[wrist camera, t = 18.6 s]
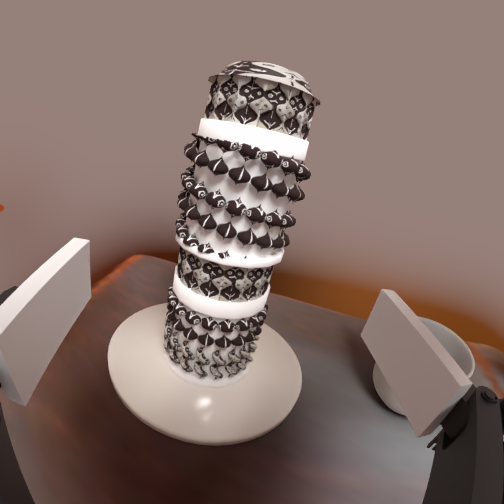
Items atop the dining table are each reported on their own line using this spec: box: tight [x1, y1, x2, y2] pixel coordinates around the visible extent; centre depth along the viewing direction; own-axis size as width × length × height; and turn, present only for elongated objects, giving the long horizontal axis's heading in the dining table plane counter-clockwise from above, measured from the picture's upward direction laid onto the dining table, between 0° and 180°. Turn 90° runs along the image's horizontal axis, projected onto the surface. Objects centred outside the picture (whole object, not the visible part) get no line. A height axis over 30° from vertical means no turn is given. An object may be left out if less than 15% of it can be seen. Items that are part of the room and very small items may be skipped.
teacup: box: [373, 317, 475, 416], centre depth 27 cm, size 14×11×8 cm
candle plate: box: [108, 303, 302, 446], centre depth 27 cm, size 19×19×1 cm
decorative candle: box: [164, 61, 320, 388], centre depth 22 cm, size 9×9×25 cm
